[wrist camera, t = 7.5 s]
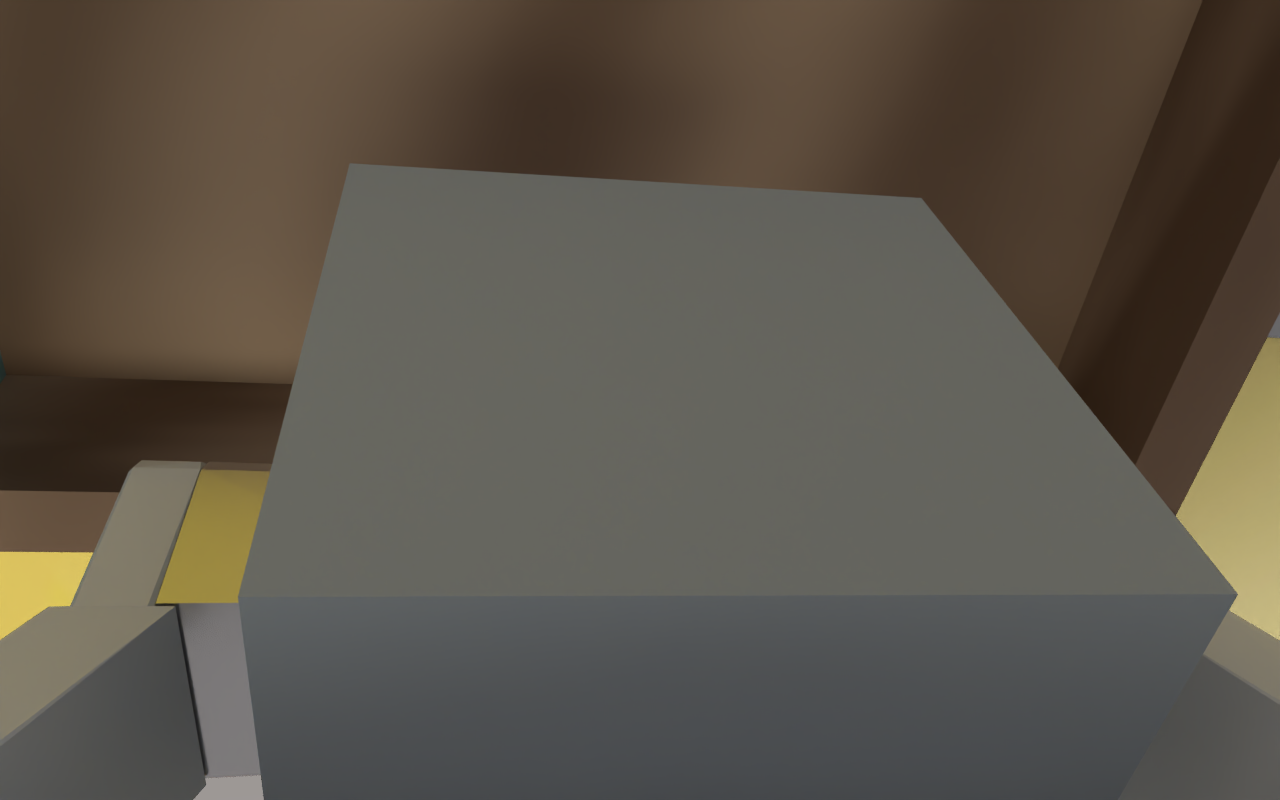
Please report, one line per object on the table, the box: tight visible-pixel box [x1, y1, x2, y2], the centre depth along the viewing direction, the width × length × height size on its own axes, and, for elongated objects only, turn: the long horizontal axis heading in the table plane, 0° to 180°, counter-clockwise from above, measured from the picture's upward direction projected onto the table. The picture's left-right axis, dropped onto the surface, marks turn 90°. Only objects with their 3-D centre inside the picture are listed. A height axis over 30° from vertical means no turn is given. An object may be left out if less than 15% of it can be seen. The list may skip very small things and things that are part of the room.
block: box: [238, 163, 1238, 800], centre depth 9 cm, size 5×5×5 cm
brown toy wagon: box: [0, 0, 1280, 552], centre depth 16 cm, size 21×12×10 cm, turn 83°
